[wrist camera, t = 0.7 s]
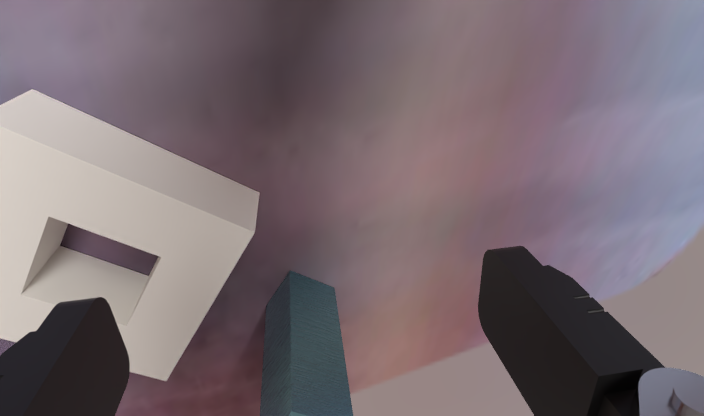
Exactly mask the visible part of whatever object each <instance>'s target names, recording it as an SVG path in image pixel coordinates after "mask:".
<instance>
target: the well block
mask: <svg viewBox="0 0 704 416" xmlns="http://www.w3.org/2000/svg"><path fill="white" fill-rule="evenodd" d="M259 194H260V193H259V192H257V191H255V190H253V189H250V188H248V187H246V186H244V185H242V184H240V183H237V182H235V181H233V180H231V179H229V178H226V177H224V176H222V175H220V174H218V173H215V172H213V171H211V170H209V169H207V168H204V167H202V166H200V165H198V164H196V163H193V162H191V161H189V160H187V159H185V158H183V157H180V156H178V155H176V154H174V153H172V152H169V151H167V150H165V149H163V148H161V147H158V146H156V145H154V144H152V143H150V142H147V141H145V140H143V139H141V138H139V137H136V136H134V135H132V134H130V133H128V132H126V131H123V130H121V129H119V128H117V127H115V126H112V125H110V124H108V123H106V122H104V121H101V120H99V119H97V118H95V117H93V116H90V115H88V114H86V113H84V112H82V111H79V110H77V109H75V108H73V107H71V106H68V105H66V104H64V103H62V102H60V101H58V100H55V99H53V98H51V97H49V96H47V95H44V94H42V93H40V92H38V91H36V90H33V89H32V90H30V91H28V92H26V93H24V94H22V95H20V96H18V97H16V98H14V99H12V100H10V101H8V102H6V103H4V104H2V105H0V338H1V339H5V340H9V341H13V342H18V341H19V340H20V339H21V338H23V337H24V336H25V335H27V334H28V333H29V332H33V331H37V329H38V328H39V327H40V325H41V324H42V323H43V321H44V320H45V319H46V317H47V316H48V314H49V313H50V312H51V310H52V309H53V308H54V307H55V305H57V304H58V303H60V302H65V301H73V300H81V299H89V298H97V297H103V298H104V299H106V300H107V302H108V303H109V305H110V307H111V310H112V313H113V315H114V318H115V321H116V323H117V326H118V328H119V331H120V334H121V336H122V339H123V341H124V344H125V347H126V349H127V352H128V356H129V363H130V371H129V372H133V373H136V374H140V375H144V376H148V377H152V378H156V379H160V380H164V381H167V379H168V378H169V376H170V374H171V372H172V371H173V369H174V367H175V366H176V364H177V362H178V361H179V359H180V357H181V356H182V354H183V352H184V351H185V349H186V347H187V346H188V344H189V342H190V341H191V339H192V337H193V336H194V334H195V332H196V331H197V329H198V327H199V325H200V324H201V322H202V320H203V319H204V317H205V315H206V314H207V312H208V310H209V309H210V307H211V305H212V304H213V302H214V300H215V299H216V297H217V295H218V294H219V292H220V290H221V289H222V287H223V285H224V284H225V282H226V280H227V279H228V277H229V275H230V273H231V272H232V270H233V268H234V267H235V265H236V263H237V262H238V260H239V258H240V257H241V255H242V253H243V252H244V250H245V248H246V247H247V245H248V243H249V242H250V240H251V238H252V237H253V235H254V233H255V228H256V219H257V211H258V202H259ZM68 224H71V225H74V226H77V227H79V228H82V229H85V230H88V231H90V232H93V233H96V234H99V235H101V236H104V237H107V238H110V239H112V240H115V241H118V242H121V243H123V244H126V245H129V246H132V247H134V248H137V249H140V250H143V251H145V252H148V253H151V254H154V255H156V256H158V258H157V260H156V262H155V264H154V266H153V268H152V270H151V272H150V274H149V276H147V275H144V274H141V273H138V272H135V271H132V270H130V269H127V268H124V267H121V266H118V265H115V264H112V263H109V262H106V261H103V260H100V259H98V258H95V257H92V256H89V255H86V254H83V253H80V252H77V251H74V250H71V249H68V248H65V247H63V246H60V244H61V242H62V239H63V236H64V234H65V231H66V228H67V226H68Z"/></svg>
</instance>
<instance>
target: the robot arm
mask: <svg viewBox="0 0 704 416" xmlns="http://www.w3.org/2000/svg"><path fill="white" fill-rule="evenodd" d="M478 312H479V319H480V323H481V326H482V329H483V331H484V333H485V335H486V336H487V338H488V340H489V341H490V343H491V345H492V346H493V348H494V350H495V351H496V353H497V354H498V356H499V358H500V360H501V361H502V363H503V364H504V366H505V368H506V369H507V371H508V373H509V374H510V376H511V378H512V379H513V381H514V383H515V384H516V386H517V388H518V389H519V391H520V392H521V394H522V396H523V397H524V399H525V401H526V402H527V404H528V406H529V407H530V409H531V410H532V412H533V414H534V416H704V377H703V376H701V375H698V374H696V373H693V372H689V371H686V370H681V369H676V368H665V367H664V366H663V365H662V364H661V363H660V362H659V361H658V360H657V359H656V358H655V357H654V356H653V355H652V354H651V353H650V352H649V351H648V350H647V349H645V348H644V347H643V346H642V345H641V344H640V343H639V342H638V341H637V340H636V339H635V338H634V337H633V336H632V335H631V334H630V333H629V332H628V331H627V330H626V329H625V328H624V327H623V326H622V325H621V324H620V323H619V322H617V321H616V320H615V319H614V318H613V317H612V316H611V315H610V314H609V313H608V312H604V308H603V307H602V306H601V305H600V304H599V303H598V302H597V301H596V300H595V299H594V298H590V297H589V294H588V293H587V292H586V291H585V290H584V289H583V288H582V287H581V286H580V285H579V284H578V283H577V282H576V281H575V280H574V279H573V278H571V277H570V276H568V275H566V274H564V273H562V272H560V271H559V270H557V269H555V268H553V267H551V266H549V265H547V266H542V265H541V264H540V262H539V261H538V260H537V259H536V258H535V257H534V256H533V255H532V254H531V253H530V252H529V251H528V250H527V249H526V248H525V247H523V246H516V247H508V248H500V249H492V250H487V251H486V252H485V254H484V258H483V265H482V275H481V284H480V293H479V302H478ZM129 371H130V363H129V356H128V352H127V349H126V347H125V344H124V341H123V339H122V336H121V334H120V331H119V328H118V326H117V323H116V321H115V318H114V315H113V313H112V310H111V307H110V305H109V303H108V302H107V300H106V299H104V298H103V297H97V298H89V299H81V300H73V301H65V302H60V303H58V304H57V305H55V307H54V308H53V309H52V310H51V312H50V313H49V314H48V316H47V317H46V319H45V320H44V321H43V323H42V324H41V325H40V327H39V328H38V329H37V331H33V332H29V333H28V334H27V335H25V336H24V337H23V338H21V339H20V340H19V341H18V342H16V343H15V344H14V345H13V346H11V347H10V348H9V349H8V350H6V351H5V352H4V353H2V355H1V356H0V416H115V413H116V411H117V408H118V406H119V403H120V401H121V398H122V396H123V393H124V391H125V388H126V386H127V383H128V379H129Z"/></svg>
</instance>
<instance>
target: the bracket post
mask: <svg viewBox="0 0 704 416" xmlns="http://www.w3.org/2000/svg"><path fill="white" fill-rule="evenodd" d="M260 416H353V412H352V405H351V398H350V391H349V384H348V378H347V371H346V364H345V357H344V350H343V343H342V337H341V330H340V323H339V316H338V309H337V302H336V296H335V289H334V288H333V287H331V286H328V285H326V284H323V283H321V282H318V281H316V280H313V279H311V278H308V277H306V276H303V275H301V274H298V273H295V272H293V271H289V273H288V274H287V276H286V277H285V279H284V280H283V282H282V283H281V285H280V286H279V288H278V289H277V291H276V292H275V294H274V295H273V297H272V298H271V300H270V301H269V303H268V304H267V306H266V321H265V338H264V355H263V372H262V389H261V406H260Z"/></svg>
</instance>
